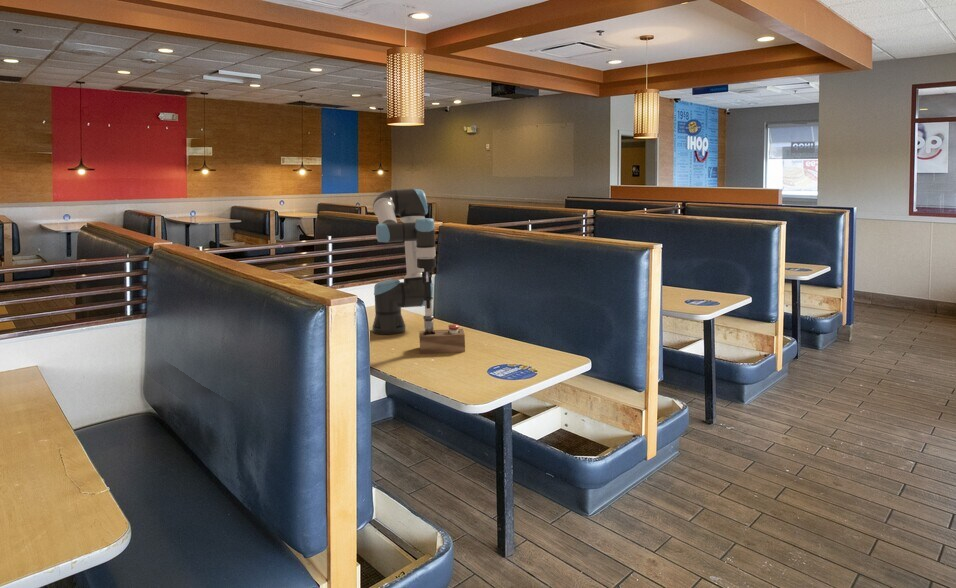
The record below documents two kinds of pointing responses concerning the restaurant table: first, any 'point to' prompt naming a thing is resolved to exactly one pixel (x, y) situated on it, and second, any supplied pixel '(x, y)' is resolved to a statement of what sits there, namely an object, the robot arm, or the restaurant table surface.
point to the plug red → (453, 328)
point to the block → (442, 342)
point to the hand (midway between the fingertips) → (428, 315)
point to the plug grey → (428, 325)
